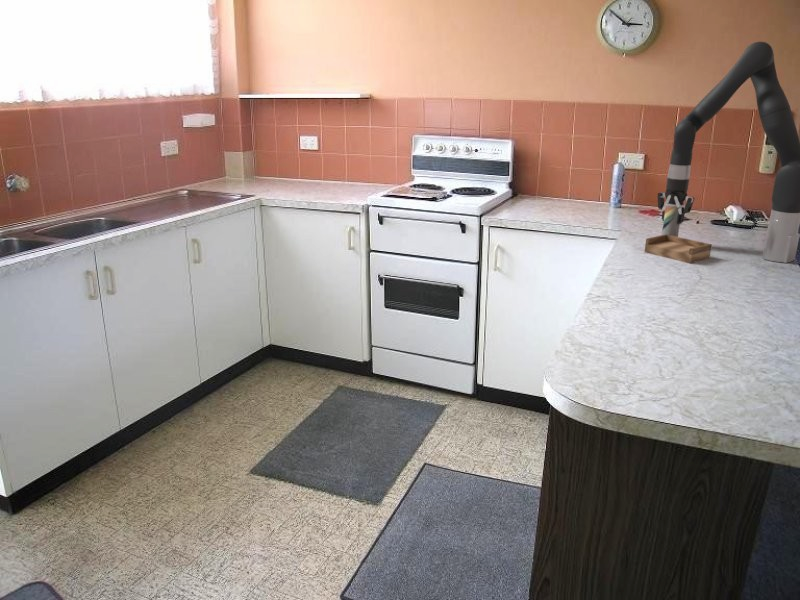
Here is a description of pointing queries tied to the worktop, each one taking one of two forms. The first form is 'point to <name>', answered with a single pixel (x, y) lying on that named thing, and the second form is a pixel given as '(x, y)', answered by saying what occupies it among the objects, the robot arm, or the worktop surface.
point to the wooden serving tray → (678, 248)
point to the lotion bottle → (671, 218)
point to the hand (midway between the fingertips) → (671, 222)
